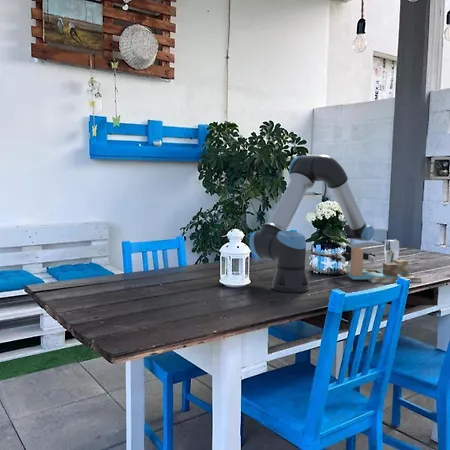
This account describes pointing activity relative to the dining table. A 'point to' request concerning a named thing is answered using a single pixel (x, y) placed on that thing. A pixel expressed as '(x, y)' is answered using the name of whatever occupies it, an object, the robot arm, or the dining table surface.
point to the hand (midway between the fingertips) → (359, 260)
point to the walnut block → (390, 269)
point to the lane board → (390, 280)
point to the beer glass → (391, 250)
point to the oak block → (401, 265)
